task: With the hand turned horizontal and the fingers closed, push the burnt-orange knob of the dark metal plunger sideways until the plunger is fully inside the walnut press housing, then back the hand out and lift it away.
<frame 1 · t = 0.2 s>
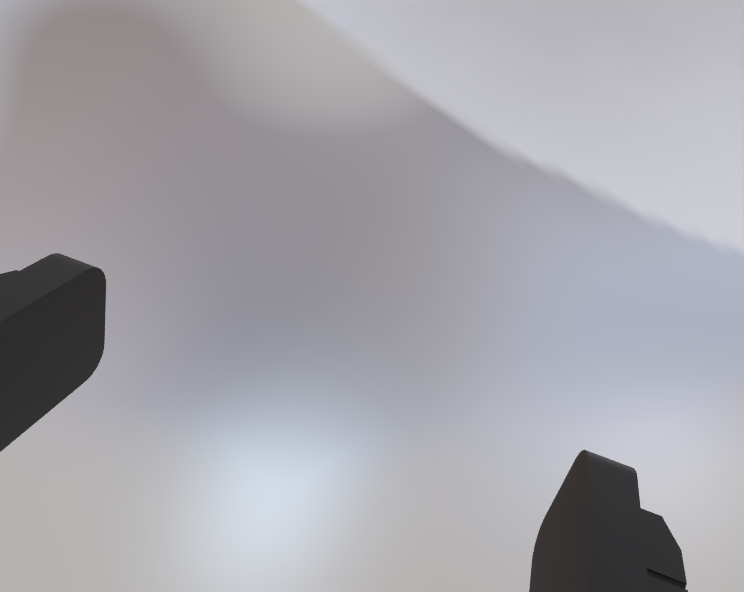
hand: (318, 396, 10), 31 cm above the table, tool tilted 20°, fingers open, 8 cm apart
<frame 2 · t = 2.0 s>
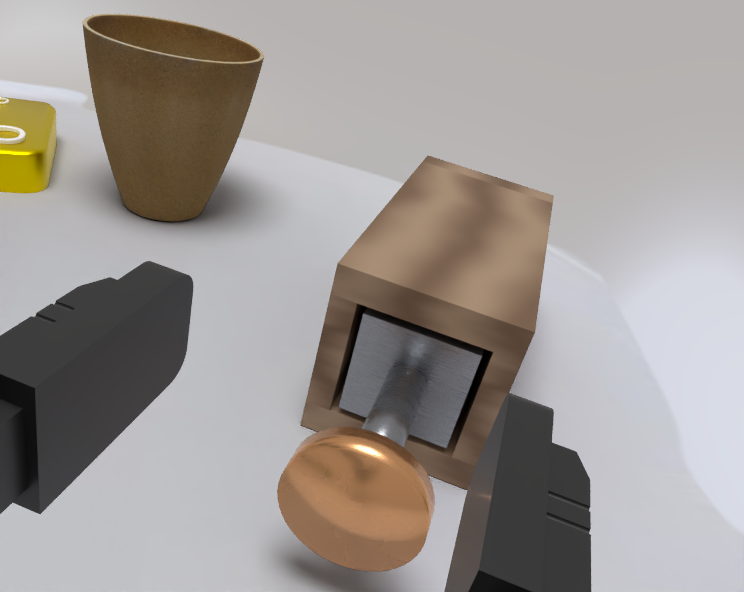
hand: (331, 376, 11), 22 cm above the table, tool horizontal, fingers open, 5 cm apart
plunger: (404, 386, 38), point 6 cm above the table, slide at 0.0 cm
plant pot: (164, 206, 64), on the table
press housing: (411, 386, 48), on the table
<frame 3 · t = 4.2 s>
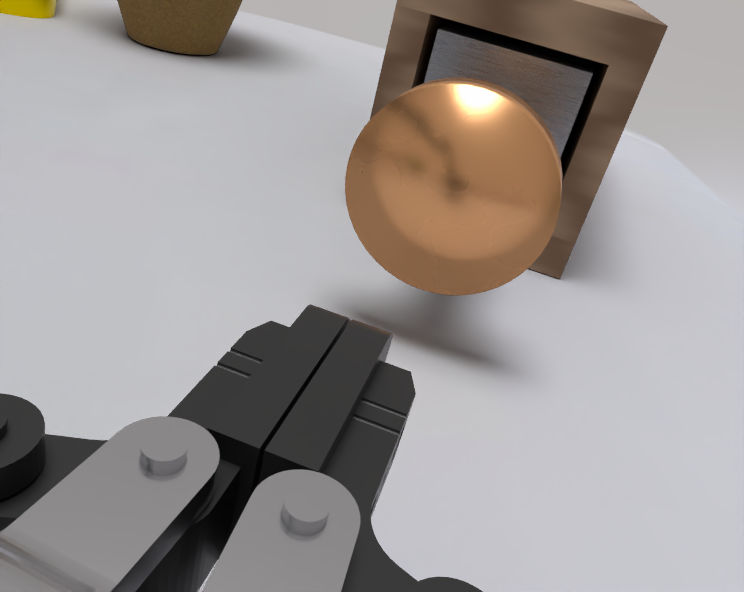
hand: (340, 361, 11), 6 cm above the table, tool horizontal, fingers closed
plunger: (488, 129, 30), point 6 cm above the table, slide at 0.0 cm
plant pot: (174, 45, 56), on the table
press housing: (474, 195, 40), on the table
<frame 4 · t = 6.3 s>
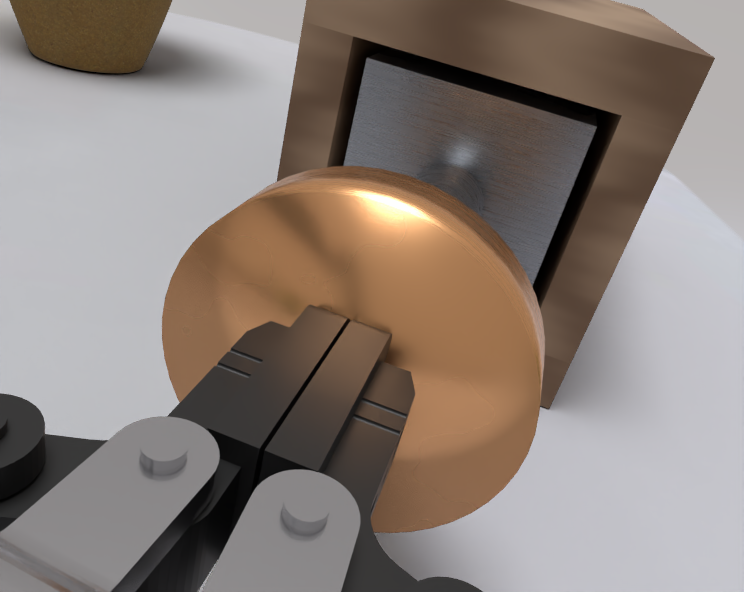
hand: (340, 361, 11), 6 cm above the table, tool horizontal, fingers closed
plunger: (443, 204, 20), point 6 cm above the table, slide at 0.1 cm, touching gripper
plant pot: (90, 61, 47), on the table
press housing: (439, 267, 30), on the table
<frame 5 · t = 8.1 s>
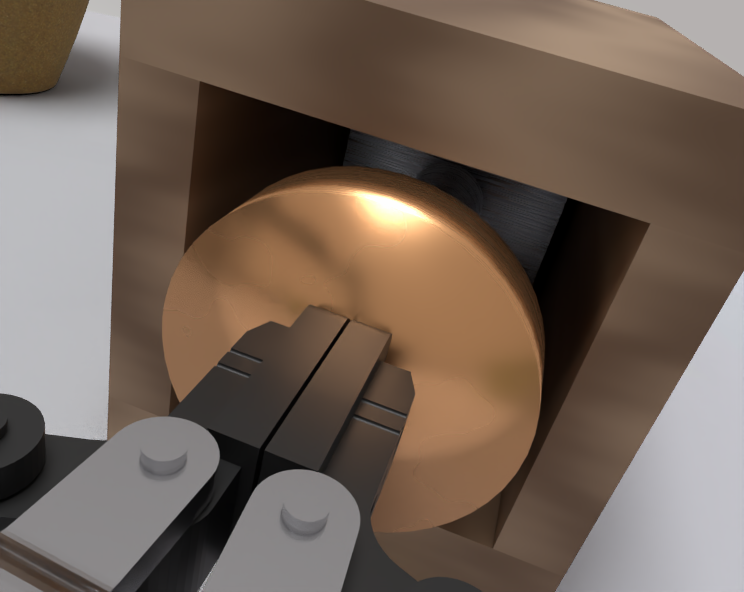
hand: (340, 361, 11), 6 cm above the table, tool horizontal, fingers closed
plunger: (443, 203, 20), point 6 cm above the table, slide at 9.1 cm, touching gripper
press housing: (391, 366, 23), on the table
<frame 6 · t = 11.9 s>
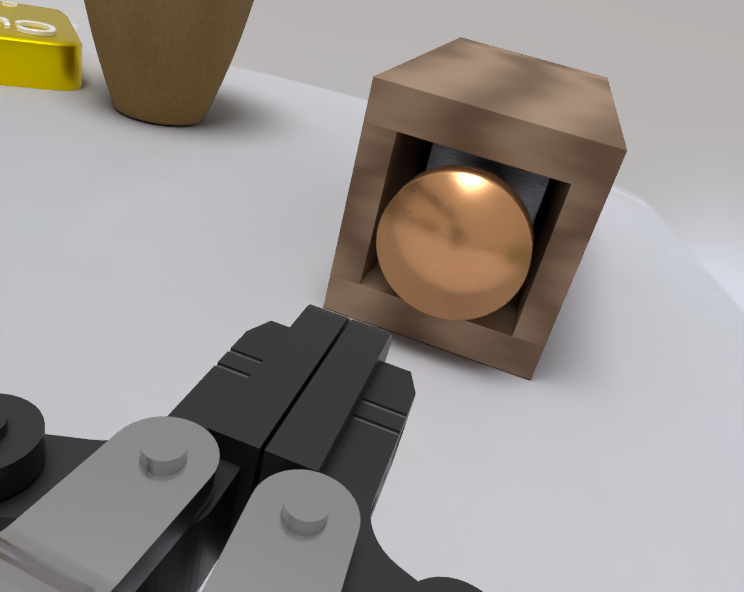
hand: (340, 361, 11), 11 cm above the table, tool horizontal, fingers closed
plunger: (481, 187, 38), point 6 cm above the table, slide at 9.0 cm
plant pot: (161, 114, 57), on the table
press housing: (451, 281, 40), on the table
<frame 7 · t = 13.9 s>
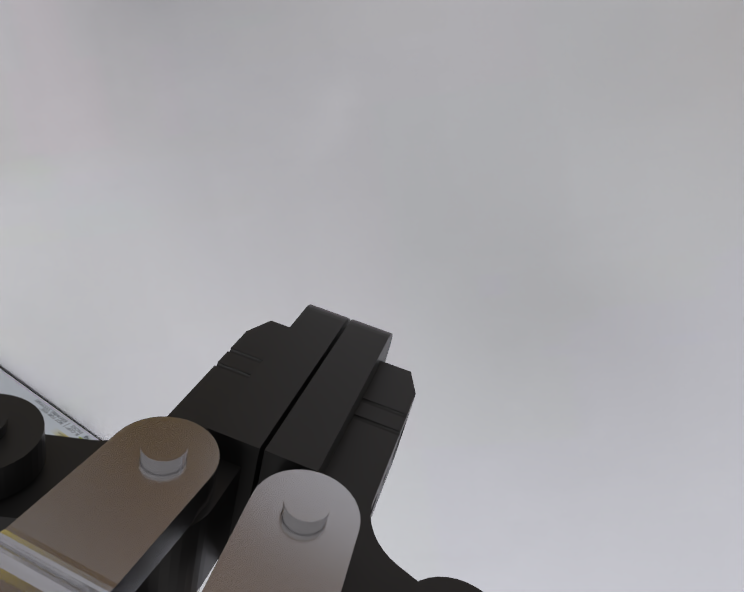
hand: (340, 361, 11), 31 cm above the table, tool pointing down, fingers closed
tea box: (38, 439, 61), on the table
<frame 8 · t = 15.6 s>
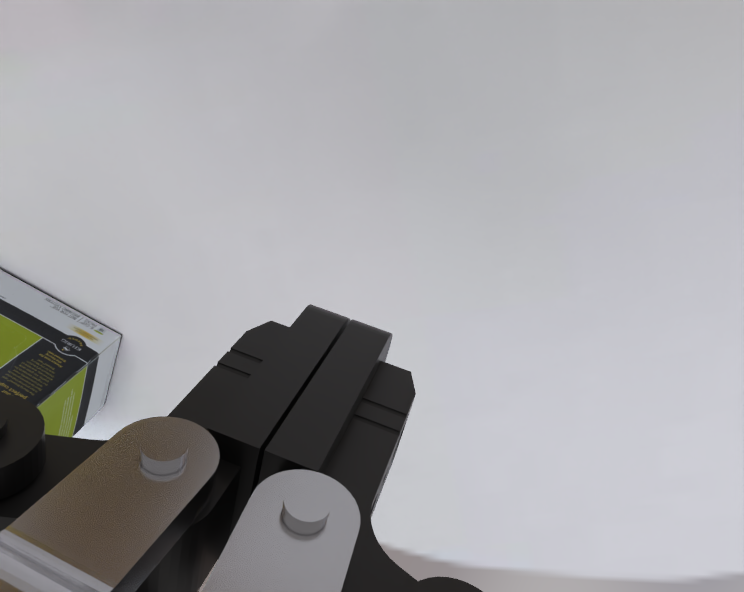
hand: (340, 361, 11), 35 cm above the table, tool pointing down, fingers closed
tea box: (52, 334, 64), on the table
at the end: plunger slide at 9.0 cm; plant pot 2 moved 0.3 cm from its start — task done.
